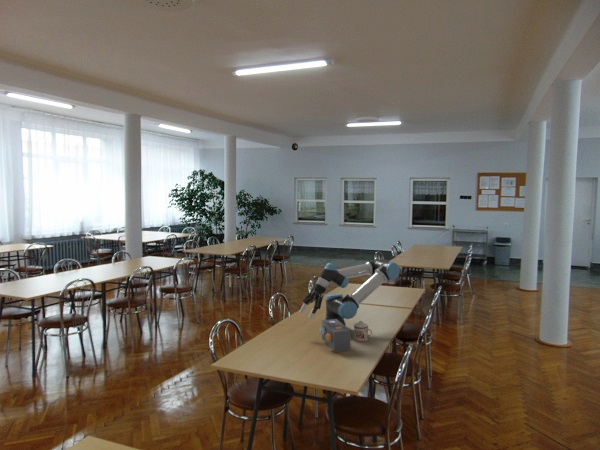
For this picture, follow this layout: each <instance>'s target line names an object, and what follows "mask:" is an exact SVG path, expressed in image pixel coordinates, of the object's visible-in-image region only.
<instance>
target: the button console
mask: <svg viewBox="0 0 600 450" xmlns="http://www.w3.org/2000/svg"><path fill="white" fill-rule="evenodd" d="M322 327H325V328H326V334H328V333H332V341H326V337H325V336H326V334H325V335H321V339H322V340H323V342H325V344H327V346H328V347H329V348H330V349H331V350H332V351H333V353H337V352H348V351H351V329H350V328H348V327H347V326H346V325H345V326H344V325H343V324H342V323H341V322H340V321H338V320H337V319H331V320H325V319H322V320H321V328H322Z"/></svg>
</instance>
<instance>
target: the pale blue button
mask: <svg viewBox="0 0 600 450" xmlns="http://www.w3.org/2000/svg"><path fill="white" fill-rule="evenodd" d="M319 334H320V336H322V335H325V334H326V328H325V327H322V326H321V327H319Z"/></svg>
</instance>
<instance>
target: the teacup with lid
mask: <svg viewBox="0 0 600 450" xmlns="http://www.w3.org/2000/svg"><path fill="white" fill-rule="evenodd" d="M368 331H369V332H370V334H369V332H368ZM368 334H369V335H368ZM372 335H373V330H372V329H370V328H369V324H368V323H365V322H363V320H359V321H358V322H356V323H354V324H353V339H354V340H355V341H357V342H366V341H368V340H369V338H370V337H371V336H372Z"/></svg>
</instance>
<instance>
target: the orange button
mask: <svg viewBox="0 0 600 450" xmlns="http://www.w3.org/2000/svg"><path fill="white" fill-rule="evenodd" d="M325 337H326V341H332V333H328V334H326V336H325Z"/></svg>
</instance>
